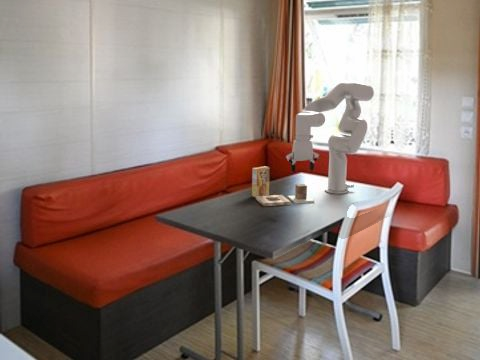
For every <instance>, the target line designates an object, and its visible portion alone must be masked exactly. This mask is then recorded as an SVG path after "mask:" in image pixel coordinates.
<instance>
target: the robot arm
mask: <svg viewBox="0 0 480 360" xmlns="http://www.w3.org/2000/svg"><path fill="white" fill-rule="evenodd" d="M374 93H375V91H374V89H373V87H372V86H371V85H369V84H364V83H360V82H357V81H356V82H355V81H345V80H343V81H342V80H341V81H338V82H336V83H335V84H334V86H333V87H332V88H331V89H330V90H329V91H328V92H326V94H325V95H324V96H322V97H319V98H318V99H315V100H314V101H311V102H309V103H308V104H306V106H305V107H304V108H302V110H301V111H300V113H297V114H296V115H295V138H294V140H293V144H292V150H291V153H289V154H287V155H286V156H285V158H286V159H287V161H288V163H290V165H291V166H290V171H291V172H292V173H295V172H296V163H297V161H298V162H299V161H310V162H309V171H311V172H313V171H314V169H315V165H314V164H315V163H316V161H317V160H318V159H319V156H320V154H319V153H317V152H315V151H314V150H313V149H314V147H313V142H312V138H314V135H313V134H312V133H311V131H312V130H311V129H312V128H319V127H322V126H324V124H325V123H326V117H325V115H324V114H323V112H328V111H333V110H334V109H336V108H337V107H338V106H339V105H340V104H341V103H342V102H343V101H344V100H345V110H344V111H343V114H342V116H341V119H340V121H339V123H338V127H337V129H338V131H339V132H340V133H335V134H332V135H331V136H330V137H329V138H328V140H327V141H328V142H327V145H328V146H327V147H328V153H329V154H328V156H329V161H328V180H327V181H328V182H327V187H325V188H324V191H325V192H326V193H329V194H334V195H335V194H336V195H337V194H338V195H341V194H342V195H343V194H347V193H348V192H349V189H351V188H354V187H355V185H354V183H352V184H351V183H347V165H348V158H347V155H354V154H356V153H357V152H359V150H360V147H361V145H362V143H363V141H364V139H365V137H366V134H367V132H368V122H367V120H366V119H364V118H361V117H360V116H361V114H362V108H361V105H360V102H369V101H371V100H372V99H373V97H374V95H375V94H374ZM359 101H360V102H359ZM346 154H347V155H346Z"/></svg>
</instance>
